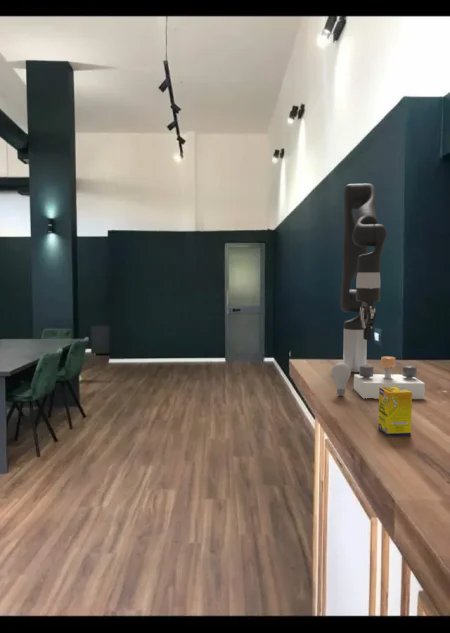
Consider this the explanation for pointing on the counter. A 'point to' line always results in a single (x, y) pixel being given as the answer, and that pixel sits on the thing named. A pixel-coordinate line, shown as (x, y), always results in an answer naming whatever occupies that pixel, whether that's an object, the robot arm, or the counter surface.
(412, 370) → the charcoal knob
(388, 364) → the middle terracotta knob
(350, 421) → the counter surface
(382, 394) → the supplement box
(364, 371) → the charcoal knob
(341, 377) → the lightbulb
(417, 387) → the mounting board
